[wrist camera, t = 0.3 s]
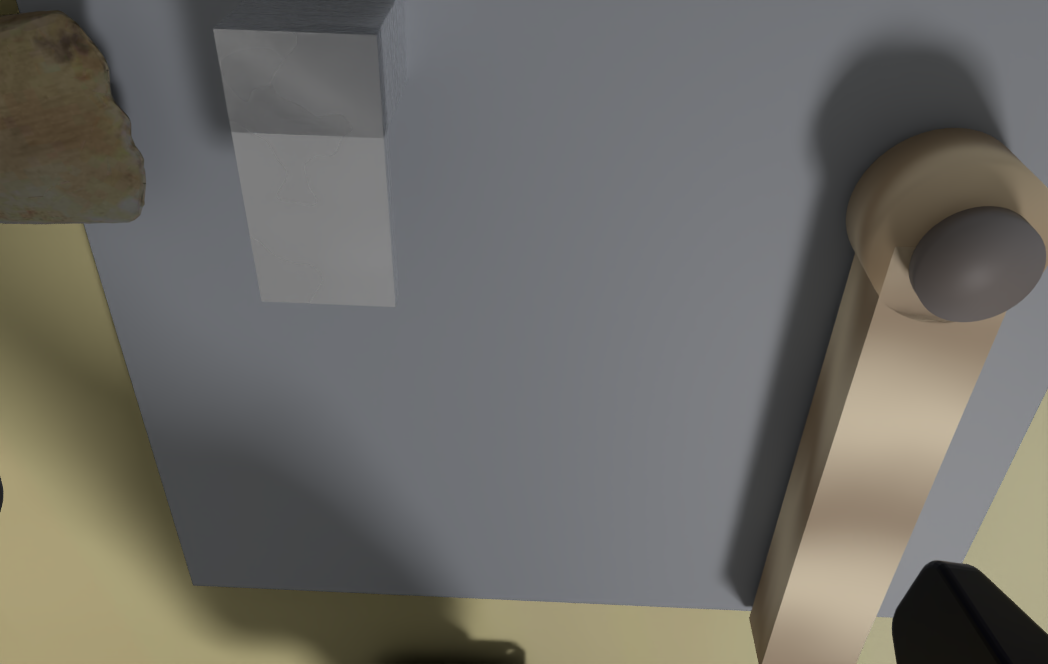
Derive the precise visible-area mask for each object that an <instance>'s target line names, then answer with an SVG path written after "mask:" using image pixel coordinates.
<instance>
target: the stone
mask: <svg viewBox="0 0 1048 664" xmlns="http://www.w3.org/2000/svg"><path fill="white" fill-rule="evenodd" d="M145 190H146V174H145V168H144V158H143V156H142V154H141V152H140V151H139V150H138V148H137V147H136V146H135V143H134V141H133V139H132V135H131V121H130V118H129V117H128V116H127V114H126V113H125V112H124V111H123V110H122V109H121V108H120V106H119V105H118V104H117V103H116V102H115V100H114V99H113V95H112V91H111V90H110V76H109V67H108V64H107V62H106V59H105V58H104V56H103V55H102V53H101V52H100V51H99V49H98V48H97V46H96V45H95V44H94V43H93V41H92V40H91V39H90V38H89V37H88V35H87V34H86V33H85V32H84V30H83V29H82V28H81V27H80V26H79V24H78V23H77V22H76V21H74V20H73V19H72V18H70V17H69V16H68V15H67V14H65V13H64V12H62V11H59V10H51V11H35V12H27V13H19V14H10V15H3V16H0V223H5V224H70V223H85V224H93V223H130V222H131V221H134V220H135V219H137V218H138V217H139V216H140V215H141V211H142V208H143V206H144V205H145V201H144V199H145Z"/></svg>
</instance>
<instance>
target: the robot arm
mask: <svg viewBox="0 0 1048 664" xmlns="http://www.w3.org/2000/svg"><path fill="white" fill-rule="evenodd" d="M2 503H3V486H2V482H1V478H0V511H1V507H2ZM892 637H893V643H894V650H895V656H896V662H897V664H1048V634H1047V633H1046V632H1045V631H1044V630H1043V629H1042V628H1041V627H1040V626H1038V625H1037V624H1036V623H1035V622H1034V621H1033V620H1032V619H1031V618H1030V617H1029V616H1028V615H1027V614H1026V613H1025V612H1024V611H1023V610H1021V609H1020V608H1019V607H1018V606H1017V605H1016V604H1015V603H1014V602H1013V601H1012V600H1011V599H1010V598H1009V597H1008V596H1007V595H1006V594H1004V593H1003V592H1002V591H1001V590H1000V589H999V588H998V587H997V586H996V585H995V584H994V583H993V582H992V581H991V580H990V579H989V578H987V577H986V576H985V575H984V574H983V573H982V572H981V571H980V570H978V569H977V568H975V567H974V566H971V565H968V564H962V563H955V562H948V561H941V560H934V561H931V562H929V563H928V564H926V565H925V566H924V567H923V568H922V570H921V571H920V573H919V574H918V576H917V577H916V579H915V580H914V582H913V583H912V585H911V586H910V588H909V589H908V591H907V593H906V594H905V596H904V597H903V599H902V600H901V602H900V603H899V605H898V606H897V608H896V610H895V613H894V616H893V621H892Z"/></svg>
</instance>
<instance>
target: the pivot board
mask: <svg viewBox="0 0 1048 664" xmlns="http://www.w3.org/2000/svg"><path fill="white" fill-rule="evenodd" d="M242 1H244V0H16V2H17V5H18V9H19V12H20V13H27V12H35V11H51V10H59V11H62V12H64V13H65V14H67V15H68V16H69V17H70V18H72V19H73V20H74V21H76V22H77V23H78V24H79V26H80V27H81V28H82V29H83V30H84V32H85V33H86V34H87V35H88V37H89V38H90V39H91V40H92V41H93V43H94V44H95V45H96V46H97V48H98V49H99V51H100V52H101V53H102V55H103V56H104V58H105V59H106V62H107V64H108V67H109V76H110V90H111V91H112V95H113V99H114V100H115V102H116V103H117V104H118V105H119V106H120V108H121V109H122V110H123V111H124V112H125V113H126V114H127V116H128V117H129V118H130V121H131V135H132V139H133V141H134V143H135V146H136V147H137V148H138V150H139V151H140V152H141V154H142V156H143V158H144V168H145V174H146V190H145V199H144V201H145V205H144V206H143V208H142V211H141V215H140V216H139V217H138V218H137V219H135V220H134V221H131V222H130V223H93V224H85V223H84V226H85V230H86V233H87V236H88V240H89V243H90V246H91V250H92V253H93V256H94V259H95V263H96V266H97V269H98V273H99V276H100V279H101V283H102V286H103V289H104V292H105V296H106V299H107V302H108V306H109V309H110V312H111V316H112V319H113V322H114V325H115V329H116V332H117V335H118V339H119V342H120V345H121V349H122V352H123V355H124V358H125V362H126V365H127V368H128V372H129V375H130V378H131V382H132V385H133V388H134V392H135V395H136V398H137V401H138V405H139V408H140V411H141V415H142V418H143V421H144V425H145V428H146V431H147V434H148V438H149V441H150V444H151V448H152V451H153V454H154V458H155V461H156V464H157V467H158V471H159V474H160V477H161V481H162V484H163V487H164V491H165V494H166V497H167V500H168V504H169V507H170V510H171V514H172V517H173V520H174V524H175V527H176V530H177V533H178V537H179V540H180V543H181V547H182V550H183V553H184V557H185V560H186V563H187V566H188V570H189V573H190V576H191V580H192V583H193V585H196V586H218V587H240V588H262V589H283V590H305V591H327V592H349V593H371V594H392V595H414V596H436V597H458V598H480V599H501V600H523V601H545V602H567V603H589V604H611V605H632V606H654V607H676V608H698V609H720V610H741V611H751V610H752V607H753V604H754V600H755V597H756V593H757V590H758V586H759V583H760V579H761V576H762V572H763V569H764V566H765V562H766V559H767V555H768V552H769V548H770V545H771V541H772V538H773V534H774V531H775V528H776V524H777V521H778V517H779V514H780V510H781V507H782V503H783V500H784V497H785V493H786V490H787V486H788V483H789V479H790V476H791V472H792V469H793V465H794V462H795V459H796V455H797V452H798V448H799V445H800V441H801V438H802V434H803V431H804V428H805V424H806V421H807V417H808V414H809V410H810V407H811V403H812V400H813V396H814V393H815V390H816V386H817V383H818V379H819V376H820V372H821V369H822V365H823V362H824V359H825V355H826V352H827V348H828V345H829V341H830V338H831V334H832V331H833V327H834V324H835V321H836V317H837V314H838V310H839V307H840V303H841V300H842V296H843V293H844V290H845V286H846V283H847V279H848V276H849V272H850V269H851V265H852V262H853V258H854V255H855V252H854V250H853V248H852V246H851V243H850V241H849V238H848V235H847V230H846V212H847V207H848V203H849V200H850V197H851V194H852V192H853V190H854V188H855V186H856V184H857V183H858V181H859V180H860V178H861V177H862V175H863V174H864V173H865V171H866V170H867V169H868V168H869V167H870V165H871V164H872V163H874V162H875V161H876V160H877V159H878V158H879V157H880V156H881V155H882V154H884V153H885V152H886V151H888V150H889V149H891V148H892V147H894V146H895V145H897V144H898V143H900V142H902V141H904V140H906V139H908V138H910V137H913V136H916V135H918V134H921V133H924V132H928V131H932V130H937V129H944V128H965V129H972V130H976V131H980V132H983V133H985V134H988V135H990V136H992V137H994V138H995V139H997V140H999V141H1000V142H1001V143H1002V144H1003V145H1005V146H1006V147H1007V148H1008V149H1009V150H1010V151H1011V152H1012V153H1013V154H1014V155H1015V156H1016V157H1017V158H1018V159H1019V160H1020V161H1021V162H1022V163H1023V164H1024V165H1025V166H1026V167H1027V168H1028V169H1029V170H1030V171H1031V172H1032V173H1033V174H1034V175H1035V176H1036V177H1037V178H1038V179H1039V180H1040V181H1041V182H1042V183H1043V184H1045V185H1046V187H1047V188H1048V0H404V20H405V39H406V59H407V79H408V80H407V82H406V85H405V87H404V90H403V92H402V95H401V97H400V99H399V102H398V104H397V107H396V109H395V112H394V114H393V117H392V119H391V121H390V124H389V126H388V140H389V155H390V170H391V185H392V200H393V215H394V230H395V245H396V260H397V275H398V290H399V296H398V300H397V303H396V307H380V306H356V305H333V304H309V303H285V302H262V301H261V296H260V290H259V285H258V279H257V273H256V268H255V262H254V257H253V251H252V245H251V240H250V234H249V229H248V223H247V217H246V212H245V206H244V200H243V195H242V189H241V184H240V178H239V172H238V167H237V161H236V156H235V150H234V144H233V139H232V133H231V128H230V122H229V116H228V111H227V105H226V100H225V94H224V88H223V83H222V77H221V71H220V66H219V60H218V55H217V49H216V43H215V38H214V32H213V28H214V27H215V26H216V25H218V24H219V23H220V22H221V21H222V20H223V19H224V18H225V17H226V16H227V15H228V14H229V13H231V12H232V11H233V10H234V9H235V8H236V7H237V6H238V5H239V4H240V3H241V2H242ZM1047 389H1048V266H1047V267H1046V269H1045V270H1044V272H1043V274H1042V276H1041V278H1040V280H1039V282H1038V283H1037V284H1036V286H1035V287H1034V289H1033V290H1032V291H1031V292H1030V293H1029V294H1028V295H1027V296H1026V297H1025V298H1024V299H1023V300H1022V301H1021V302H1019V303H1018V304H1017V305H1015V306H1014V307H1012V308H1011V309H1009V310H1007V312H1006V314H1005V316H1004V319H1003V321H1002V323H1001V326H1000V328H999V330H998V333H997V335H996V337H995V340H994V342H993V344H992V347H991V349H990V351H989V354H988V356H987V358H986V361H985V363H984V365H983V368H982V370H981V372H980V375H979V377H978V379H977V382H976V384H975V387H974V389H973V391H972V394H971V396H970V398H969V401H968V403H967V405H966V408H965V410H964V412H963V415H962V417H961V419H960V422H959V424H958V426H957V429H956V431H955V433H954V436H953V438H952V440H951V443H950V445H949V447H948V450H947V452H946V454H945V457H944V459H943V461H942V464H941V466H940V468H939V471H938V473H937V476H936V478H935V480H934V483H933V485H932V487H931V490H930V492H929V494H928V497H927V499H926V501H925V504H924V506H923V508H922V511H921V513H920V515H919V518H918V520H917V522H916V525H915V527H914V529H913V532H912V534H911V536H910V539H909V541H908V543H907V546H906V548H905V550H904V553H903V555H902V557H901V560H900V562H899V565H898V567H897V569H896V572H895V574H894V576H893V579H892V581H891V583H890V586H889V588H888V590H887V593H886V595H885V597H884V600H883V602H882V604H881V607H880V609H879V611H878V614H877V616H876V617H893V616H894V613H895V610H896V608H897V606H898V605H899V603H900V602H901V600H902V599H903V597H904V596H905V594H906V593H907V591H908V589H909V588H910V586H911V585H912V583H913V582H914V580H915V579H916V577H917V576H918V574H919V573H920V571H921V570H922V568H923V567H924V566H925V565H926V564H928V563H929V562H931V561H934V560H941V561H948V562H955V563H962V562H963V560H964V558H965V556H966V554H967V552H968V550H969V548H970V546H971V544H972V542H973V540H974V538H975V536H976V534H977V532H978V529H979V527H980V525H981V523H982V521H983V519H984V517H985V515H986V513H987V511H988V509H989V507H990V505H991V503H992V501H993V499H994V497H995V495H996V493H997V491H998V489H999V487H1000V485H1001V483H1002V481H1003V479H1004V477H1005V475H1006V472H1007V470H1008V468H1009V466H1010V464H1011V462H1012V460H1013V458H1014V456H1015V454H1016V452H1017V450H1018V448H1019V446H1020V444H1021V442H1022V440H1023V438H1024V436H1025V434H1026V432H1027V430H1028V428H1029V426H1030V424H1031V422H1032V420H1033V418H1034V415H1035V413H1036V411H1037V409H1038V407H1039V405H1040V403H1041V401H1042V399H1043V397H1044V395H1045V393H1046V391H1047Z"/></svg>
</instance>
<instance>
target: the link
mask: <svg viewBox="0 0 1048 664" xmlns="http://www.w3.org/2000/svg"><path fill="white" fill-rule="evenodd" d="M846 230H847V235H848V238H849V241H850V243H851V246H852V248H853V250H854V252H855V255H854V258H853V262H852V265H851V269H850V272H849V276H848V279H847V283H846V286H845V290H844V293H843V296H842V300H841V303H840V307H839V310H838V314H837V317H836V321H835V324H834V327H833V331H832V334H831V338H830V341H829V345H828V348H827V352H826V355H825V359H824V362H823V365H822V369H821V372H820V376H819V379H818V383H817V386H816V390H815V393H814V396H813V400H812V403H811V407H810V410H809V414H808V417H807V421H806V424H805V428H804V431H803V434H802V438H801V441H800V445H799V448H798V452H797V455H796V459H795V462H794V465H793V469H792V472H791V476H790V479H789V483H788V486H787V490H786V493H785V497H784V500H783V503H782V507H781V510H780V514H779V517H778V521H777V524H776V528H775V531H774V534H773V538H772V541H771V545H770V548H769V552H768V555H767V559H766V562H765V566H764V569H763V572H762V576H761V579H760V583H759V586H758V590H757V593H756V597H755V600H754V604H753V607H752V610H751V614H750V617H749V619H750V624H751V629H752V634H753V638H754V643H755V648H756V653H757V658H758V662H759V664H856V663H857V661H858V658H859V656H860V654H861V651H862V649H863V646H864V644H865V642H866V639H867V637H868V635H869V632H870V630H871V628H872V625H873V623H874V621H875V618H876V616H877V614H878V611H879V609H880V607H881V604H882V602H883V600H884V597H885V595H886V593H887V590H888V588H889V586H890V583H891V581H892V579H893V576H894V574H895V572H896V569H897V567H898V565H899V562H900V560H901V557H902V555H903V553H904V550H905V548H906V546H907V543H908V541H909V539H910V536H911V534H912V532H913V529H914V527H915V525H916V522H917V520H918V518H919V515H920V513H921V511H922V508H923V506H924V504H925V501H926V499H927V497H928V494H929V492H930V490H931V487H932V485H933V483H934V480H935V478H936V476H937V473H938V471H939V468H940V466H941V464H942V461H943V459H944V457H945V454H946V452H947V450H948V447H949V445H950V443H951V440H952V438H953V436H954V433H955V431H956V429H957V426H958V424H959V422H960V419H961V417H962V415H963V412H964V410H965V408H966V405H967V403H968V401H969V398H970V396H971V394H972V391H973V389H974V387H975V384H976V382H977V379H978V377H979V375H980V372H981V370H982V368H983V365H984V363H985V361H986V358H987V356H988V354H989V351H990V349H991V347H992V344H993V342H994V340H995V337H996V335H997V333H998V330H999V328H1000V326H1001V323H1002V321H1003V319H1004V316H1005V314H1006V312H1007V310H1009V309H1011V308H1012V307H1014V306H1015V305H1017V304H1018V303H1019V302H1021V301H1022V300H1023V299H1024V298H1025V297H1026V296H1027V295H1028V294H1029V293H1030V292H1031V291H1032V290H1033V289H1034V287H1035V286H1036V284H1037V283H1038V282H1039V280H1040V278H1041V276H1042V274H1043V272H1044V270H1045V269H1046V267H1047V266H1048V188H1047V187H1046V185H1045V184H1043V183H1042V182H1041V181H1040V180H1039V179H1038V178H1037V177H1036V176H1035V175H1034V174H1033V173H1032V172H1031V171H1030V170H1029V169H1028V168H1027V167H1026V166H1025V165H1024V164H1023V163H1022V162H1021V161H1020V160H1019V159H1018V158H1017V157H1016V156H1015V155H1014V154H1013V153H1012V152H1011V151H1010V150H1009V149H1008V148H1007V147H1006V146H1005V145H1003V144H1002V143H1001V142H1000V141H999V140H997V139H995V138H994V137H992V136H990V135H988V134H985V133H983V132H980V131H976V130H972V129H965V128H944V129H937V130H932V131H928V132H924V133H921V134H918V135H916V136H913V137H910V138H908V139H906V140H904V141H902V142H900V143H898V144H897V145H895V146H894V147H892V148H891V149H889V150H888V151H886V152H885V153H884V154H882V155H881V156H880V157H879V158H878V159H877V160H876V161H875V162H874V163H872V164H871V165H870V167H869V168H868V169H867V170H866V171H865V173H864V174H863V175H862V177H861V178H860V180H859V181H858V183H857V184H856V186H855V188H854V190H853V192H852V194H851V197H850V200H849V203H848V207H847V212H846Z"/></svg>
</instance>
